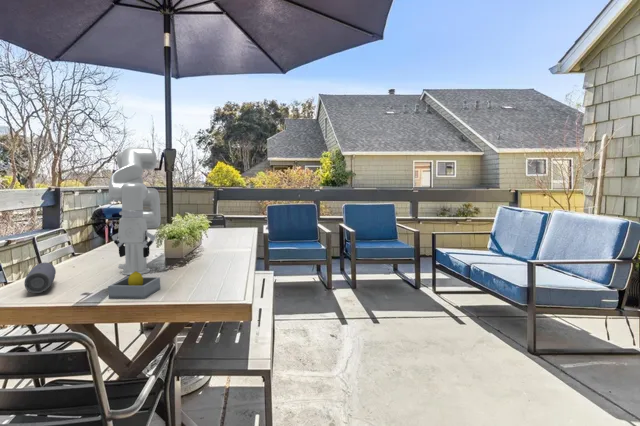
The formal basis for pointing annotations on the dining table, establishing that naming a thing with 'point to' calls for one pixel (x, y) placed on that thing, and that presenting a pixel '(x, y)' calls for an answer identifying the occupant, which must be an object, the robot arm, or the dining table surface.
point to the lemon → (135, 279)
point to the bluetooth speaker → (40, 278)
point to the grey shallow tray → (134, 289)
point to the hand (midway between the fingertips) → (134, 256)
